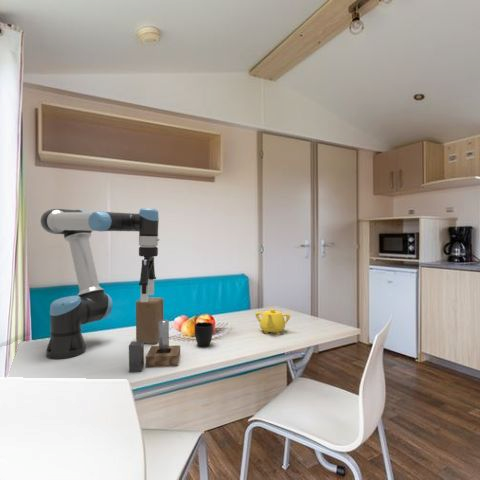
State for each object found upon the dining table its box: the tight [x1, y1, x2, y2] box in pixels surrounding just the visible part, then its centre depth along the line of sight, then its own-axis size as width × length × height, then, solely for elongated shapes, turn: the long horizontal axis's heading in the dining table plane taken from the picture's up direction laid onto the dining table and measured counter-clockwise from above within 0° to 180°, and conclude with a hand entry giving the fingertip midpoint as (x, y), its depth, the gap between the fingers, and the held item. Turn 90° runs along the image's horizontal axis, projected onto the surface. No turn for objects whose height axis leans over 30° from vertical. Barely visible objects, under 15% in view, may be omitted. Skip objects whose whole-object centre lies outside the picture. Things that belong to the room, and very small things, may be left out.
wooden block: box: [135, 296, 165, 345], centre depth 160 cm, size 10×10×20 cm
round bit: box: [158, 319, 170, 353], centre depth 135 cm, size 4×4×16 cm
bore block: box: [145, 344, 181, 368], centre depth 135 cm, size 12×12×4 cm
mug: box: [194, 321, 214, 348], centre depth 155 cm, size 8×12×10 cm
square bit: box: [128, 340, 145, 373], centre depth 126 cm, size 4×4×10 cm
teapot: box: [255, 308, 291, 336], centre depth 174 cm, size 14×14×12 cm
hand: (147, 298), depth 138 cm, fingers open, 13 cm apart
